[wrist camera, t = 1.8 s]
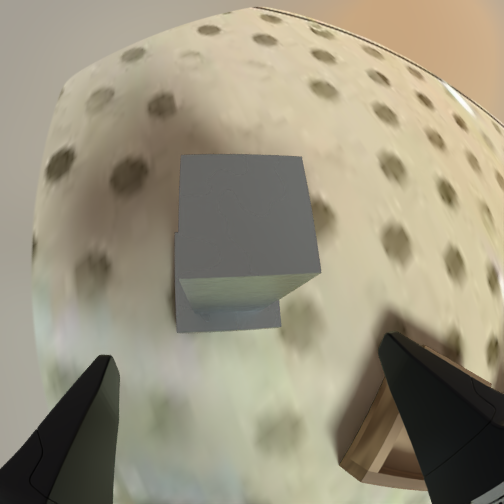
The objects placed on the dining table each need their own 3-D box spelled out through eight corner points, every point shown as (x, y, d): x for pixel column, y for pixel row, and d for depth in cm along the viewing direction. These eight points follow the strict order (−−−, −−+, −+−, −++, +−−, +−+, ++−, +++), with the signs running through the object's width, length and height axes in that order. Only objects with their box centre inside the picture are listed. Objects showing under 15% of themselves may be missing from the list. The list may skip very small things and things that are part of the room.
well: (421, 481, 17) (444, 491, 14) (339, 465, 17) (360, 482, 14) (465, 383, 21) (491, 383, 17) (396, 347, 21) (425, 345, 18)
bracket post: (277, 327, 20) (359, 306, 9) (178, 333, 19) (138, 321, 8) (268, 235, 22) (324, 135, 11) (176, 238, 21) (150, 131, 10)
